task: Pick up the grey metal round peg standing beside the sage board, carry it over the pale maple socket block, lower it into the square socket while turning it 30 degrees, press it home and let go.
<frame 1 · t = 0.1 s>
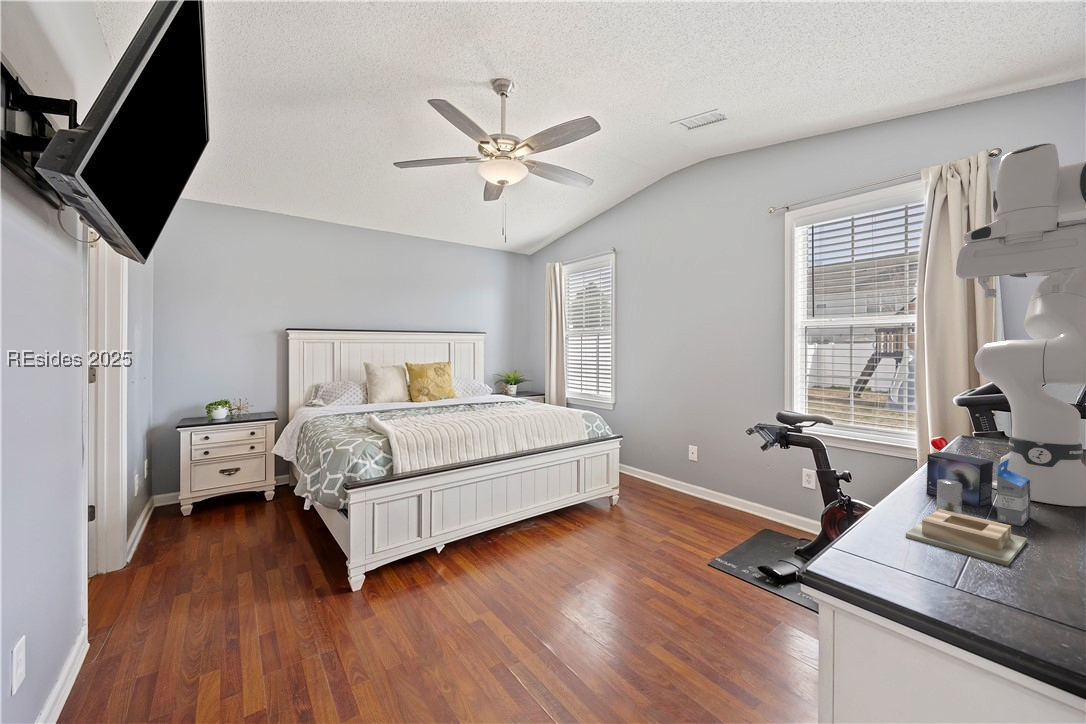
hand: (1022, 295, 90), 48 cm above the dresser, fingers open, 8 cm apart
small box: (957, 499, 108), on the dresser
hub block: (965, 539, 85), on the dresser
peg: (948, 518, 96), on the dresser
label tape box: (1013, 520, 95), on the dresser
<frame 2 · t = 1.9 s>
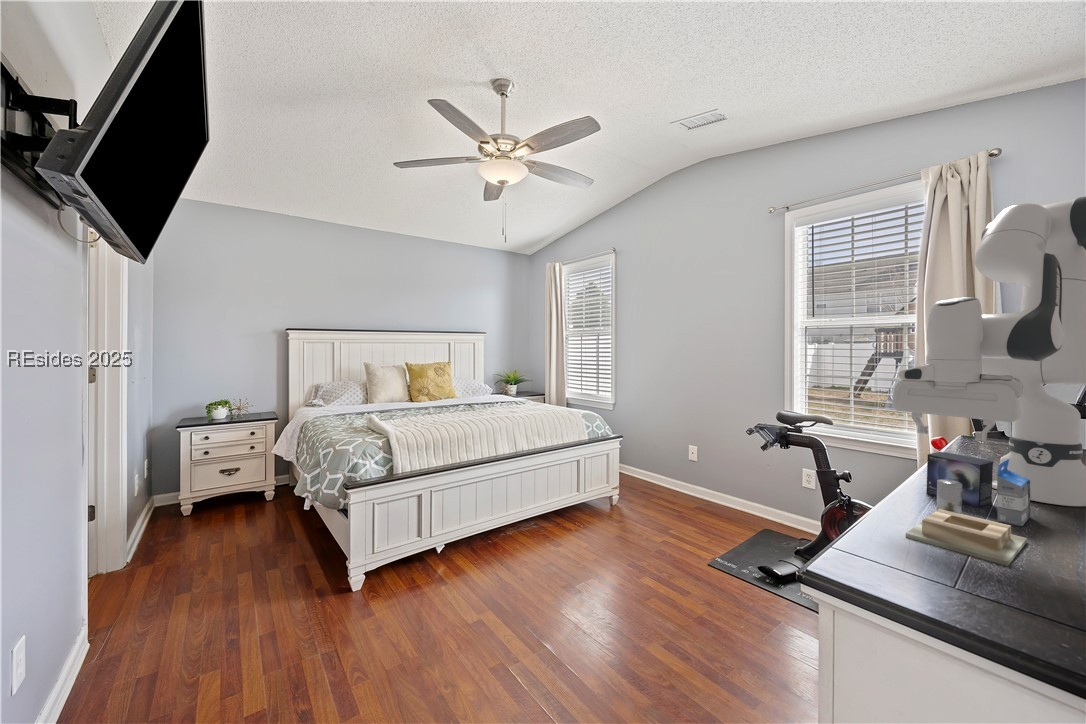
hand: (950, 437, 95), 18 cm above the dresser, fingers open, 8 cm apart
nothing on the dresser moved.
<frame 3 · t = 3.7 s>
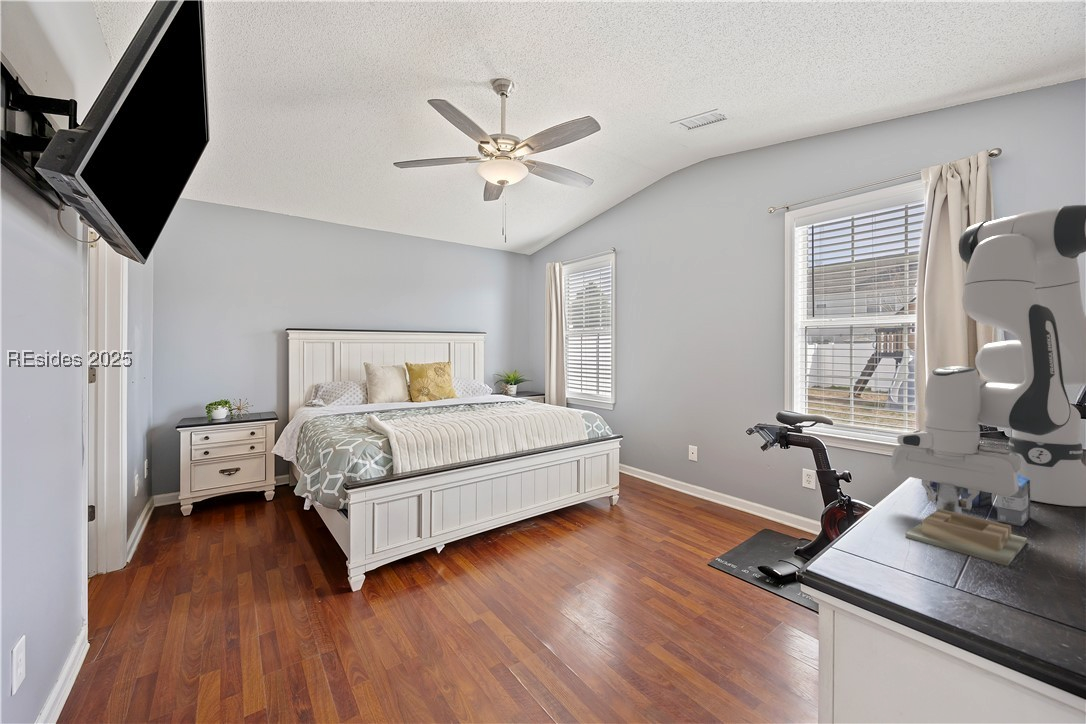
hand: (949, 504, 96), 3 cm above the dresser, fingers closed on peg, 4 cm apart
peg: (948, 518, 96), on the dresser, touching gripper
everything else where it was.
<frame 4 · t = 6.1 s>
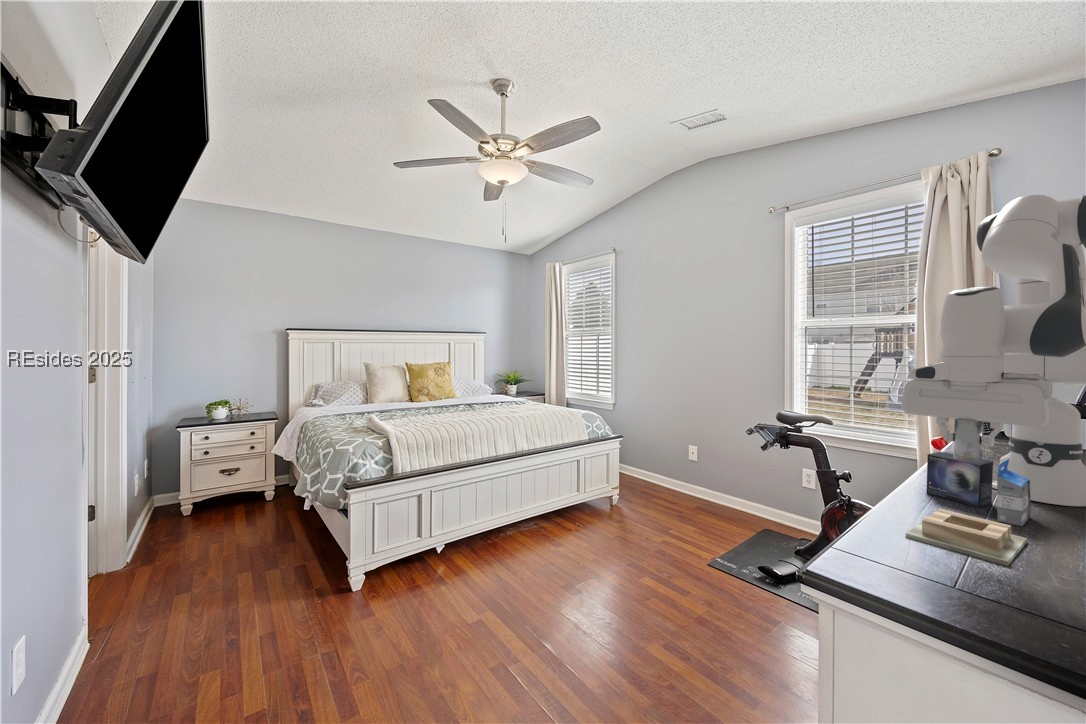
hand: (968, 443, 85), 19 cm above the dresser, fingers closed on peg, 4 cm apart
peg: (967, 459, 85), point 16 cm above the dresser, touching gripper
everything else where it was.
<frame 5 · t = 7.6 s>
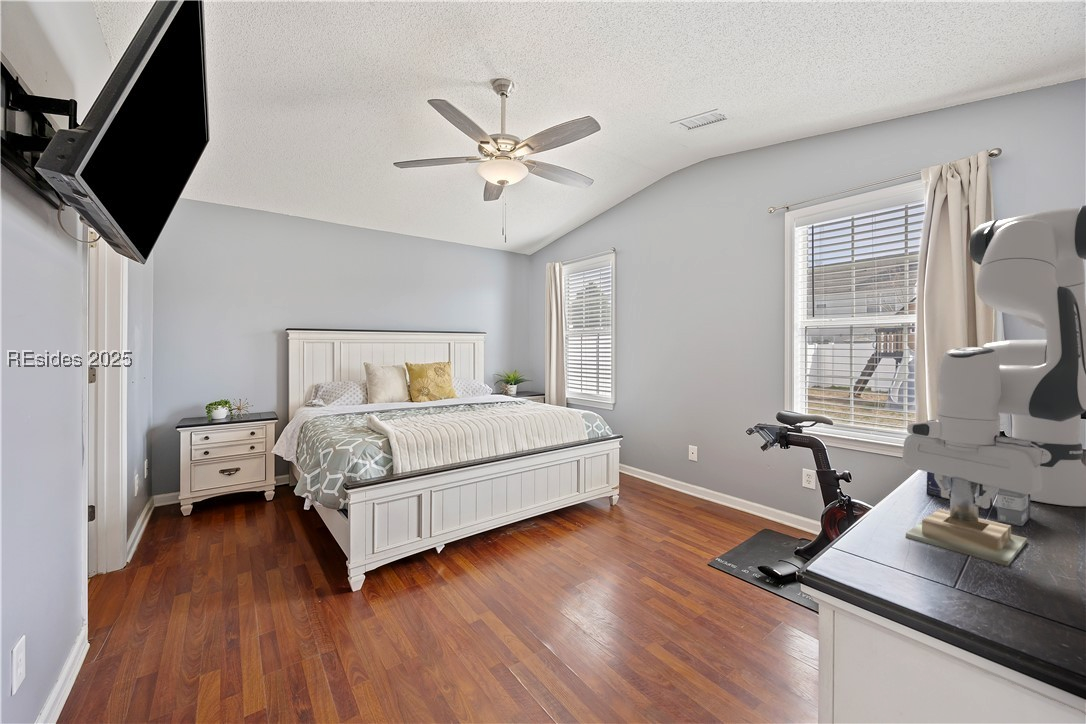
hand: (964, 502, 85), 7 cm above the dresser, fingers closed on peg, 4 cm apart
peg: (963, 518, 85), point 4 cm above the dresser, touching gripper
everything else where it was.
when the fingers open (5 cm above the dresser, at t = 8.6 s): peg stays where it is, resting on hub block.
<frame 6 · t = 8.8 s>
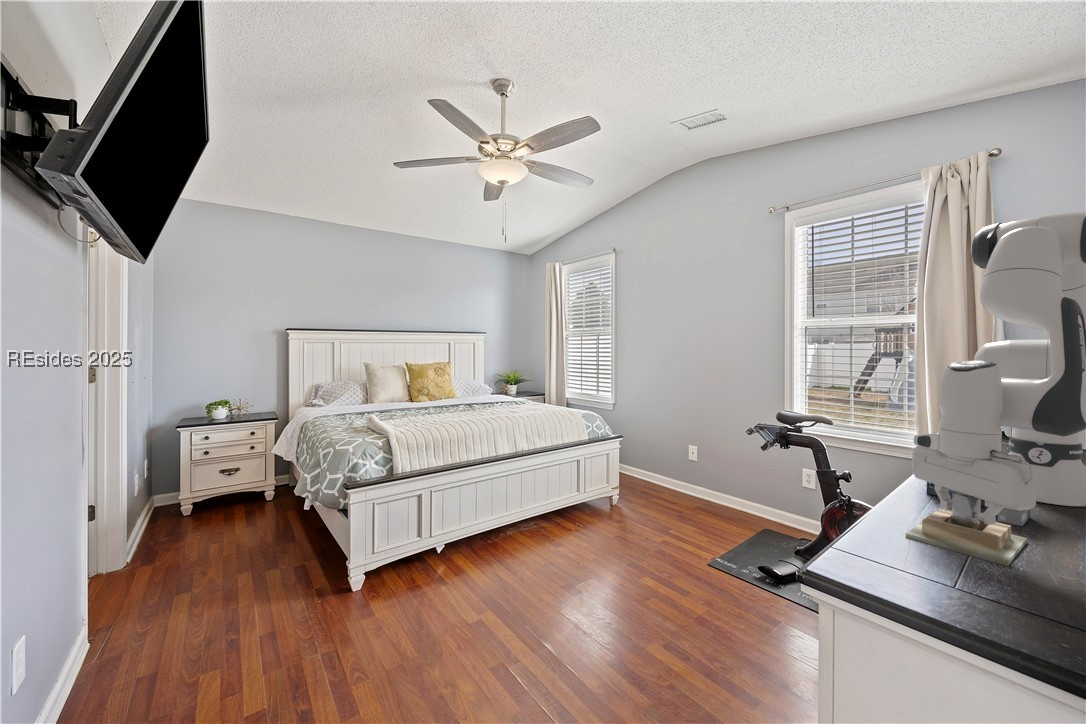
hand: (966, 515, 85), 5 cm above the dresser, fingers open, 6 cm apart
peg: (965, 535, 85), point 1 cm above the dresser, touching hub block
everything else where it was.
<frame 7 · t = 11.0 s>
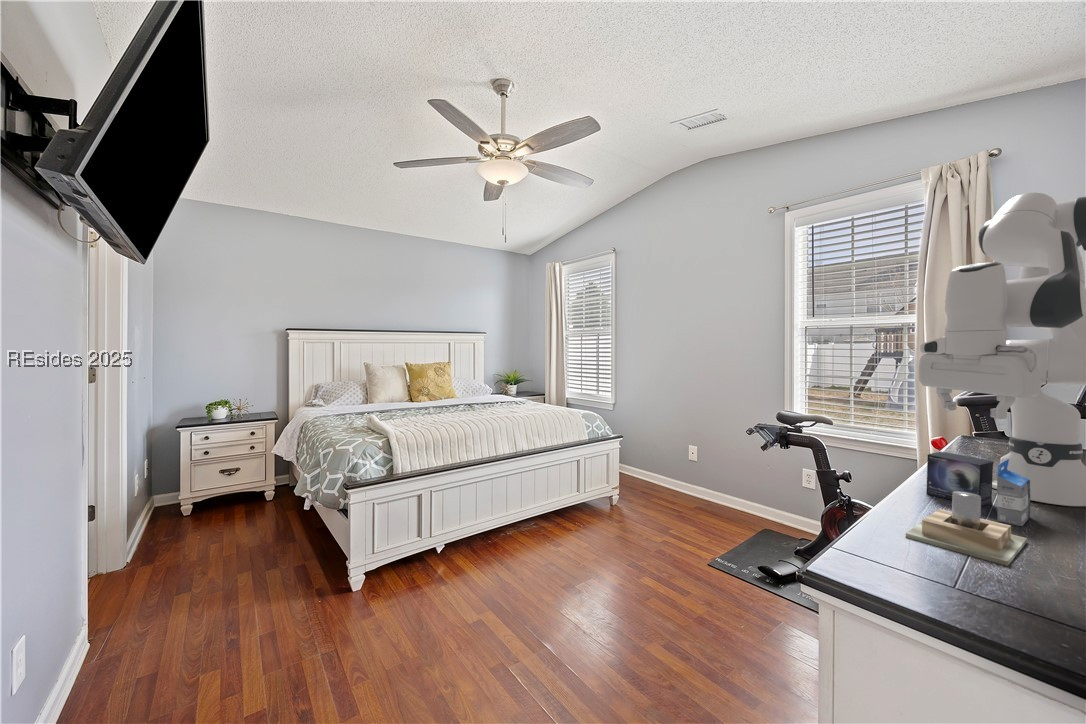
hand: (972, 413, 88), 24 cm above the dresser, fingers open, 8 cm apart
nothing on the dresser moved.
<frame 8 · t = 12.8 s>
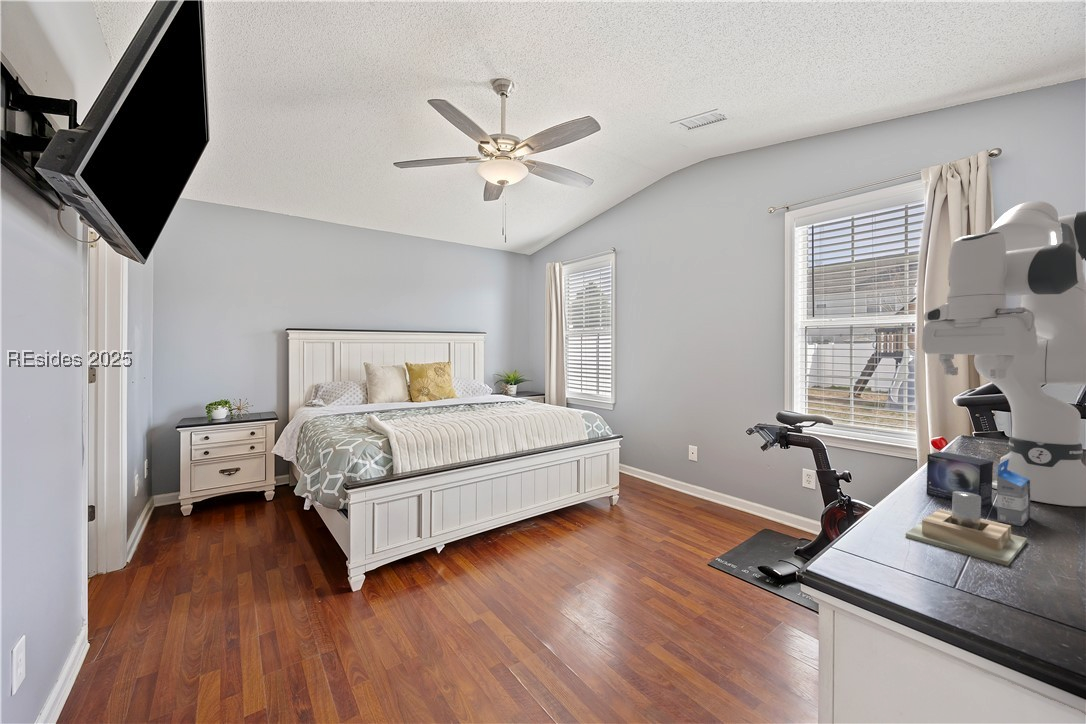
hand: (973, 376, 93), 31 cm above the dresser, fingers open, 8 cm apart
nothing on the dresser moved.
at the end: peg 0.0 cm off-centre on the hub block, point 0.8 cm above the hub block's base; peg tilted 0°; the gripper is holding nothing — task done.
